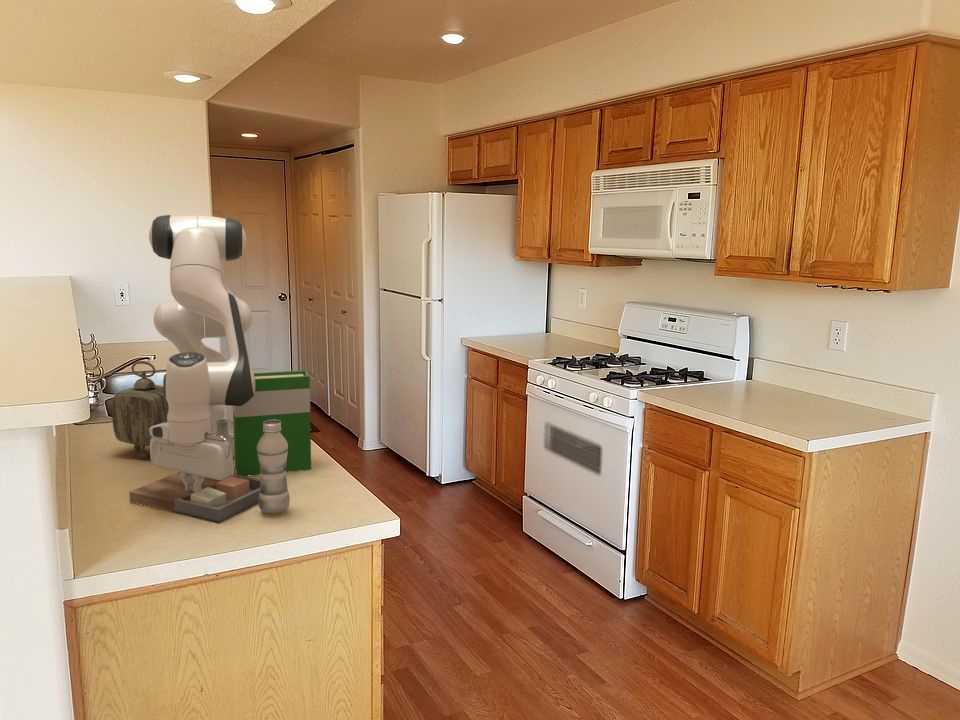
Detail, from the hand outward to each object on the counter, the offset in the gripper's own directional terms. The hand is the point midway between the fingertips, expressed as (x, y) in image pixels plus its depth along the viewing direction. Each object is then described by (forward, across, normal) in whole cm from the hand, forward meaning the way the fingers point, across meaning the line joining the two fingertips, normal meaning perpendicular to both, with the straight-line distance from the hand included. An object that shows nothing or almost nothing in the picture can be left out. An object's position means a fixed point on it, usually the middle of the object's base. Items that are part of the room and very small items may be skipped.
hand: (193, 492), depth 157 cm
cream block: (+3, -4, 0) cm, 5 cm away
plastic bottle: (+4, -16, -6) cm, 18 cm away
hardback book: (+4, +2, -28) cm, 28 cm away
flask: (+4, +18, -29) cm, 35 cm away
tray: (+4, -4, -5) cm, 8 cm away
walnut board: (+4, +8, -5) cm, 10 cm away
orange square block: (+3, -3, -9) cm, 10 cm away
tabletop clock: (+4, +36, -21) cm, 42 cm away
